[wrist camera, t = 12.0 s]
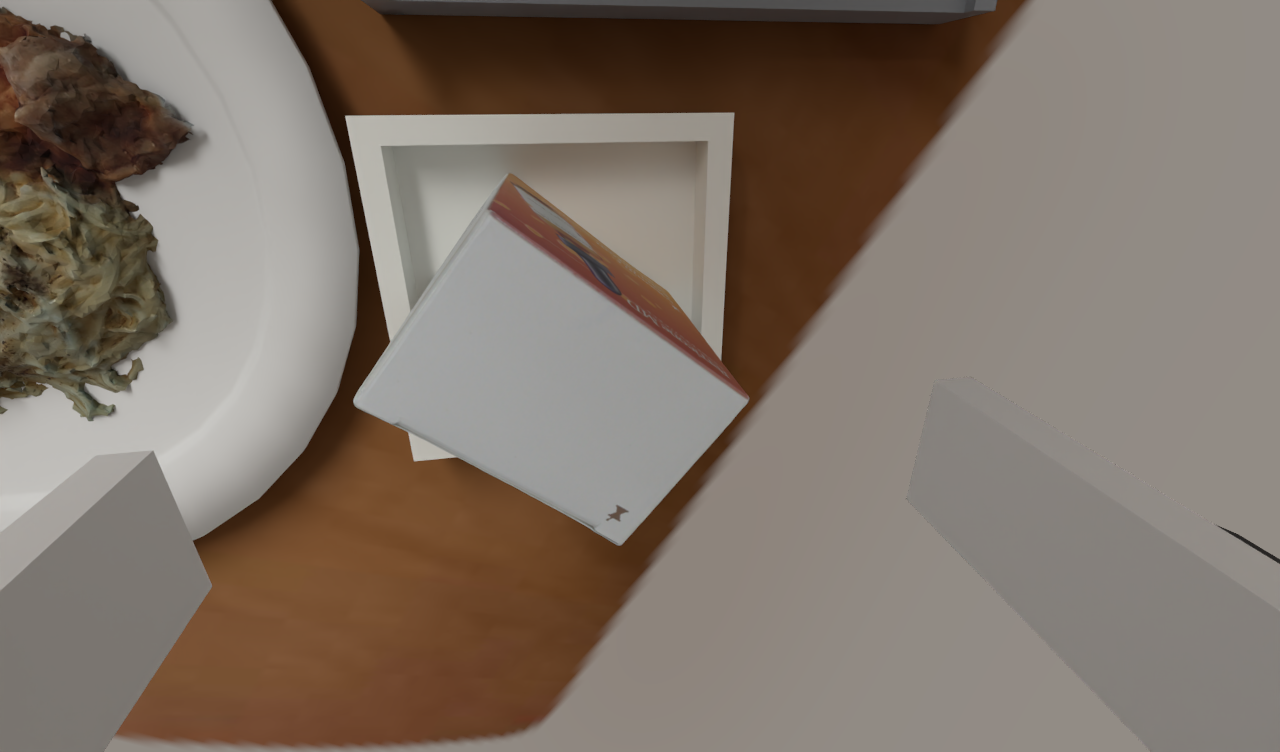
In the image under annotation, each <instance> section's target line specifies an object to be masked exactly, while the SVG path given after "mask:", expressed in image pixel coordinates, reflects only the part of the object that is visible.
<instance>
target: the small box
mask: <svg viewBox="0 0 1280 752" xmlns="http://www.w3.org/2000/svg"><path fill="white" fill-rule="evenodd" d="M748 401H749V396H748V395H747V394H746V392H745V391H744V390H743V389H742V387H741V386H740V385H739V384H738V382H737V381H736V380H735V378H734V377H733V376H732V374H731V373H730V372H729V371H728V369H727V368H726V367H725V365H724V364H723V363H722V361H721V360H720V359H719V357H718V356H717V355H716V353H715V352H714V351H713V349H712V348H711V347H710V346H709V344H708V343H707V342H706V340H705V339H704V337H703V336H702V335H701V334H700V332H699V331H698V330H697V328H696V327H695V326H694V325H693V323H692V322H691V320H690V319H689V318H688V317H687V315H686V314H685V313H684V311H683V310H682V309H681V307H680V306H679V305H678V304H677V302H676V301H675V300H674V299H673V297H672V296H671V295H670V293H669V292H668V291H667V290H665V289H664V288H663V287H661V286H660V285H658V284H657V283H656V282H654V281H653V280H651V279H650V278H649V277H647V276H646V275H644V274H643V273H641V272H640V271H639V270H637V269H636V268H635V267H633V266H632V265H630V264H629V263H628V262H626V261H625V260H624V259H622V258H621V257H620V256H618V255H617V254H616V253H615V252H613V251H612V250H611V249H609V248H608V247H607V246H605V245H604V244H603V243H602V242H600V241H599V240H598V239H596V238H595V237H594V236H593V235H591V234H590V233H589V232H588V231H586V230H585V229H584V228H582V227H581V226H580V225H579V224H577V223H576V222H575V221H573V220H572V219H571V218H570V217H568V216H567V215H566V214H564V213H563V212H562V211H561V210H559V209H558V208H557V207H555V206H554V205H553V204H551V203H550V202H549V201H547V200H546V199H545V198H544V197H542V196H541V195H540V194H538V193H537V192H536V191H535V190H533V189H532V188H531V187H529V186H528V185H527V184H525V183H524V182H523V181H522V180H520V179H519V178H518V177H516V176H515V175H513V174H511V173H507V174H506V175H505V176H504V177H503V179H502V180H501V181H500V183H499V184H498V185H497V187H496V188H495V189H494V190H493V192H492V193H491V194H490V196H489V197H488V199H487V200H486V201H485V203H484V204H483V205H482V207H481V208H480V210H479V211H478V212H477V214H476V215H475V217H474V218H473V219H472V221H471V222H470V224H469V225H468V227H467V228H466V230H465V231H464V233H463V234H462V236H461V237H460V239H459V240H458V242H457V243H456V245H455V246H454V248H453V249H452V251H451V252H450V254H449V255H448V257H447V258H446V259H445V261H444V262H443V264H442V265H441V267H440V268H439V270H438V271H437V273H436V274H435V276H434V277H433V279H432V280H431V282H430V283H429V285H428V286H427V288H426V289H425V291H424V292H423V294H422V295H421V297H420V298H419V300H418V301H417V303H416V304H415V306H414V307H413V309H412V310H411V312H410V313H409V315H408V316H407V318H406V319H405V321H404V322H403V324H402V325H401V327H400V328H399V330H398V331H397V333H396V335H395V336H394V338H393V339H392V341H391V342H390V344H389V345H388V347H387V348H386V350H385V351H384V353H383V354H382V356H381V357H380V359H379V360H378V362H377V363H376V365H375V366H374V368H373V369H372V371H371V372H370V374H369V375H368V377H367V378H366V379H365V381H364V382H363V384H362V385H361V387H360V388H359V390H358V392H357V393H356V395H355V397H354V400H353V402H354V405H355V407H356V408H358V409H360V410H362V411H364V412H366V413H368V414H371V415H373V416H375V417H377V418H379V419H381V420H383V421H386V422H388V423H390V424H392V425H394V426H396V427H399V428H401V429H403V430H405V431H407V432H409V433H411V434H413V435H415V436H417V437H419V438H421V439H423V440H425V441H427V442H429V443H431V444H433V445H435V446H437V447H438V448H440V449H442V450H444V451H446V452H448V453H450V454H452V455H454V456H456V457H458V458H460V459H462V460H464V461H466V462H467V463H469V464H471V465H474V466H475V467H477V468H479V469H481V470H482V471H484V472H486V473H488V474H490V475H492V476H494V477H496V478H498V479H500V480H502V481H503V482H505V483H507V484H509V485H511V486H513V487H515V488H517V489H519V490H521V491H522V492H524V493H526V494H528V495H530V496H532V497H534V498H536V499H537V500H539V501H541V502H543V503H545V504H547V505H549V506H550V507H552V508H554V509H556V510H558V511H560V512H562V513H563V514H565V515H567V516H569V517H571V518H572V519H574V520H576V521H578V522H580V523H581V524H583V525H585V526H586V527H588V528H590V529H591V530H592V531H594V532H596V533H597V534H599V535H601V536H602V537H604V538H606V539H607V540H609V541H611V542H612V543H614V544H616V545H618V546H620V545H622V544H623V543H624V542H625V541H626V540H627V538H628V537H629V536H630V535H631V534H632V533H633V532H634V531H635V530H636V528H637V527H638V526H639V525H640V524H641V523H642V522H643V521H644V520H645V519H646V518H647V516H648V515H649V514H650V513H651V512H652V511H653V510H654V508H655V507H656V506H657V505H658V504H659V503H660V502H661V501H662V500H663V498H664V497H665V496H666V495H667V494H668V493H669V492H670V490H671V489H672V488H673V487H674V486H675V485H676V484H677V483H678V481H679V480H680V479H681V478H682V477H683V476H684V475H685V474H686V472H687V471H688V470H689V469H690V468H691V467H692V466H693V464H694V463H695V462H696V461H697V460H698V459H699V458H700V457H701V456H702V454H703V453H704V452H705V451H706V450H707V449H708V448H709V447H710V446H711V444H712V443H713V442H714V441H715V440H716V439H717V438H718V437H719V435H720V434H721V433H722V432H723V431H724V430H725V428H726V427H727V426H728V425H729V424H730V423H731V422H732V420H733V419H734V418H735V417H736V416H737V414H738V413H739V412H740V411H741V410H742V409H743V408H744V407H745V406H746V404H747V403H748Z"/></svg>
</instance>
